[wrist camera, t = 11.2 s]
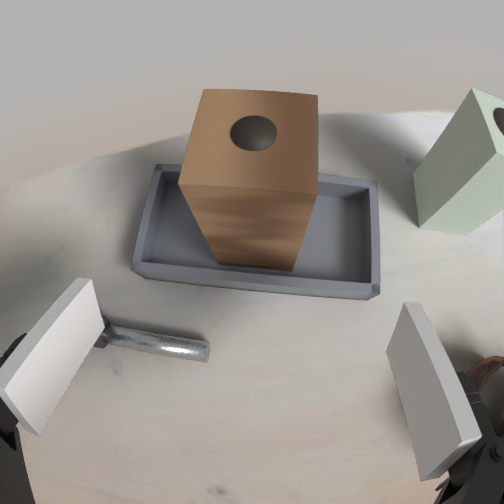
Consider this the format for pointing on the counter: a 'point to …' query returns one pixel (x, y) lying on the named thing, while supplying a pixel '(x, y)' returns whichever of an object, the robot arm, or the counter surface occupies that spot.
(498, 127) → the sage block
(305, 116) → the walnut block
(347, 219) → the slate tray
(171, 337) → the rod
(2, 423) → the robot arm
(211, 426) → the counter surface
